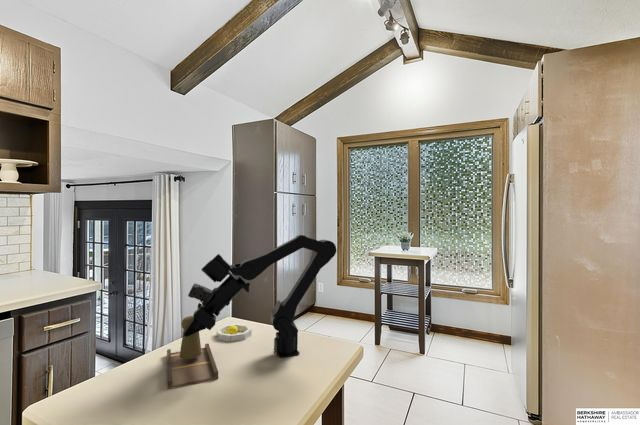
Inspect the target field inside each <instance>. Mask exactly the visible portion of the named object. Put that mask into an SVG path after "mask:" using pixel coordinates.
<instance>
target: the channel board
mask: <svg viewBox="0 0 640 425" xmlns="http://www.w3.org/2000/svg"><path fill="white" fill-rule="evenodd" d="M210 347H211V346H210V344H209V343H205V344H204V347H201V352H202V353H201V355H200V356H198V357H196V358H192V359H182V358H180V357H179V356H180V351H175V352H172V349H170V348H169V349H166V377H167V378H166V379H167V381H166V382H167V384H166V385H167V388H166V389H167V390H169V389H175V388H179V387H185V386H189V385H193V384H199V383H204V382H205V383H206V382H209V381H215V380H218V379H219V370H218V368H217V367H218V366H217V364H216V361H215V358H214V354H213V353H212V350H211V348H210Z"/></svg>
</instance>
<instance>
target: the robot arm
mask: <svg viewBox="0 0 640 425" xmlns="http://www.w3.org/2000/svg"><path fill="white" fill-rule="evenodd" d="M301 249H306V250H310V251H312V252H311V255H310V259H309V261H308V264H307V265H306V267H305V268H304V270H303V271H302V273H301V274H300V276H299V278H297V281H296V282H295V284H294V286H292V289H291V290H290V292H289V293H288V295H287V297H285V299H283V301H281V300H279V299H278V300H277V301H276V304H275V305H274V307H273V308H271V309H270V311H271V314H270V321H271V323H272V326H273V328H274V330H275V331H276V332H275V337H274V340H273V343H274V344H273V351H274V352H275V354H277V355H276V356H278V357H279V359H280V358H286V357H293V356H297V355H300V351H299V350H298V342H299V340H298V337H299V336H298V334H299V328H298V327H297V325H296V324H295V322H294V318H295V315H296V312H297V309H298V306H299V304H300V302H301V301H302V299H303V298H304V296H305V295H306V293H307V291H308V290H309V288H310V287H311V285H312V283H313V282H314V280H315V279H316V277H317V275H318V274H319V272H320V271H321V269H322V268H324V267H325V265H327V264H328V263H329V262H330V261H331V260H332V259H333V258H334V256H335V255H336V254H337V246H336V244H335V243H334V242H333V241H331V240H328V239H320V240H317V239H314V238H311V237H308V236H306V235H303V234H297V235H296V236H295V237H294V238H292V239H290V240H288V241H286V242H284V243H282V244H281V245H278V246H276V247H275V248H273V249H271V250H269V251H267V252H265V253H263V254H260V255H255V256H252V257H250V258H246V259H244V260H242V261H241V262H240V263H233V264H229V262H227V261H226V260H225V259H224V257H222V255H221V254H220V253H218V254H217V255H215V256H214V257H213V258H212V259H211V260H209V261H208V262H207V263H206V264H205V265H204V266H202V268H201V272H203V274H205V275H206V276H207V277H208V278H209V279H210V280H211V281H213V283H216V282H217V283H221V284H219V286H217V287H214V288H213V289H210V288H208V287H206V286H204V285H201V284H199V283H193V285H192V287H191V288H190V291H189V293H188V295H187V296H188V297H189V298H191V299H196V300H197V301H199V303H198V304H197V309H196V310H195V311H193V315H192V316H194V320H193V321H192V323H191V324H190V326H189V327H188V328H187V330H186V331H185V333H184V334H183V333H182V336H183V335H184V336H185V337H187V336H189V335H192V334H194V333H196V332H199V333H200V332H202V331H204V330H206V329H207V330H209V331H211V329H213V328H214V327H215V326H216V322H217V317H218V316H219V315H220V313H221V311H223V309H224V308H225V307H226V306H227V307H228V306H229V305H230V304H231V301H233V299H234V298H235V297H236V296H238V294H239V293H240V292H241V291H242V290H244V291H246V292H247V293H249V292H250V285H251V283H250V281H252V280H255V279H256V278H257V277H258V276H260V275H261V274H263V272H264V271H265V270H266V269H267V268H268V267H270V266H271V265H273V264H275V263H277V262H279V261H280V260H282V259H284V258H286V257H288V256H291V254H294V253H295V252H298V251H299V250H301ZM226 277H227V278H226ZM225 278H226V279H225ZM223 280H224V281H223Z"/></svg>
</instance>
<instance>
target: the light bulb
mask: <svg viewBox="0 0 640 425" xmlns="http://www.w3.org/2000/svg"><path fill="white" fill-rule="evenodd" d="M224 333H225V334H238V328H237V327H236V326H230V327H229V328H228V329H227V330H226V331H225V332H224Z"/></svg>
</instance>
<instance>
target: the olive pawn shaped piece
mask: <svg viewBox="0 0 640 425" xmlns="http://www.w3.org/2000/svg"><path fill="white" fill-rule="evenodd" d="M193 320H194V316H193V315H188V316H186V317H184V318H183V319H182V321H181V328H182V329H183V332H182V338H181V345H180V351H179V352H180V356H179V357H180V358H182V359H192V358H196V357H198V356H200V355H201V353H202V352H201V348H202V345H201V338H200V337H201V336H200V331H199V332H196V333H194V334H192V335H189V336H187V337H185V336H184V335H183V334H184V333H185V331H186V330H187V328H188V327H189V326H190V324H191V323H192V321H193Z"/></svg>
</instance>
